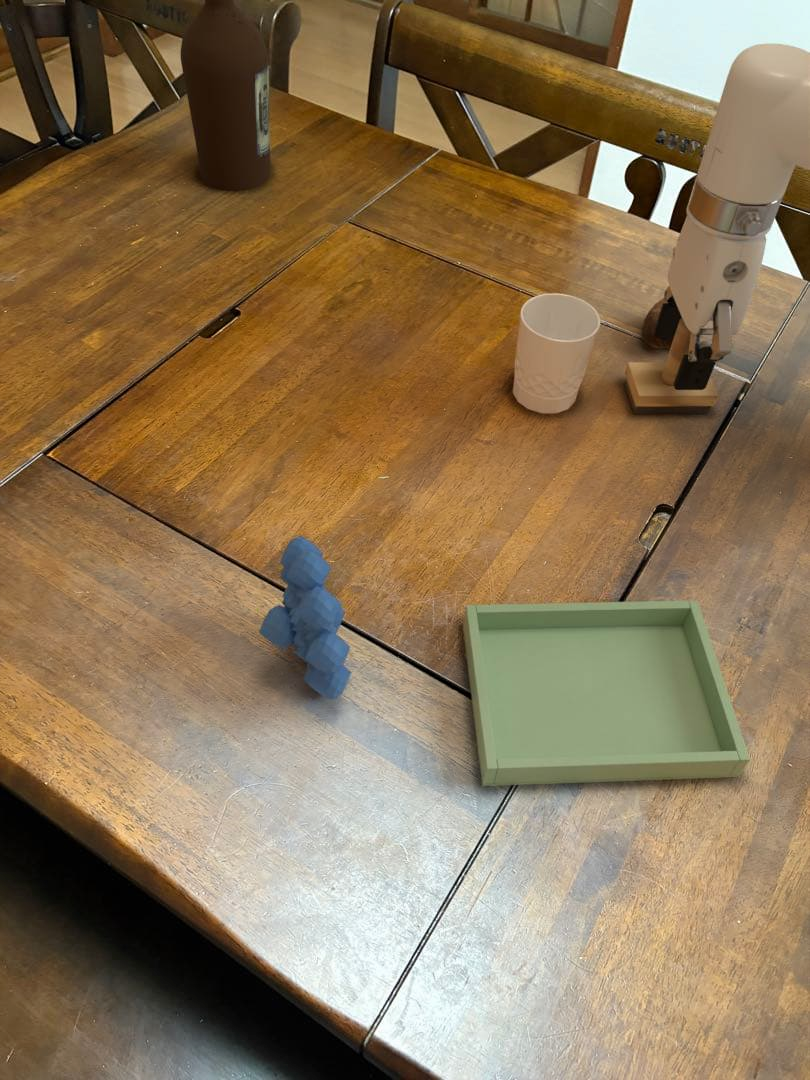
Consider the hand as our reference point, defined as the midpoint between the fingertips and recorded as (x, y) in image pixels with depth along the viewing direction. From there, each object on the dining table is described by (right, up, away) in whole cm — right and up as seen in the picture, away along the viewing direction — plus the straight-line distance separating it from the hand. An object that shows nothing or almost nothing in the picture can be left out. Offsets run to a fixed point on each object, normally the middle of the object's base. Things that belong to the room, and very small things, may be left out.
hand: (678, 360), depth 94 cm
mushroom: (+2, +4, +11) cm, 12 cm away
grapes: (-36, -29, -19) cm, 50 cm away
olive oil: (-51, +31, +30) cm, 67 cm away
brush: (0, -3, +4) cm, 5 cm away
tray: (-13, -31, -20) cm, 39 cm away
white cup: (-13, -3, +4) cm, 14 cm away
